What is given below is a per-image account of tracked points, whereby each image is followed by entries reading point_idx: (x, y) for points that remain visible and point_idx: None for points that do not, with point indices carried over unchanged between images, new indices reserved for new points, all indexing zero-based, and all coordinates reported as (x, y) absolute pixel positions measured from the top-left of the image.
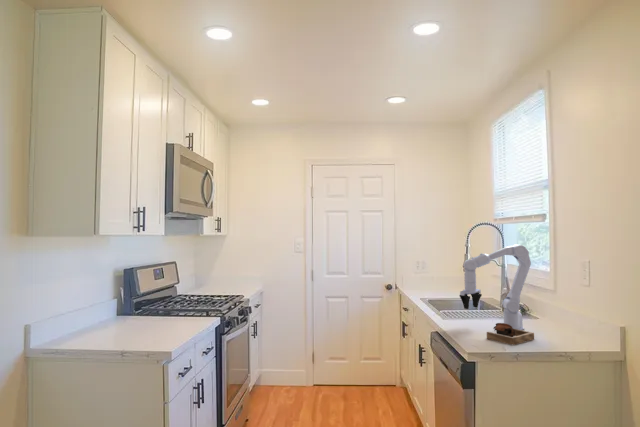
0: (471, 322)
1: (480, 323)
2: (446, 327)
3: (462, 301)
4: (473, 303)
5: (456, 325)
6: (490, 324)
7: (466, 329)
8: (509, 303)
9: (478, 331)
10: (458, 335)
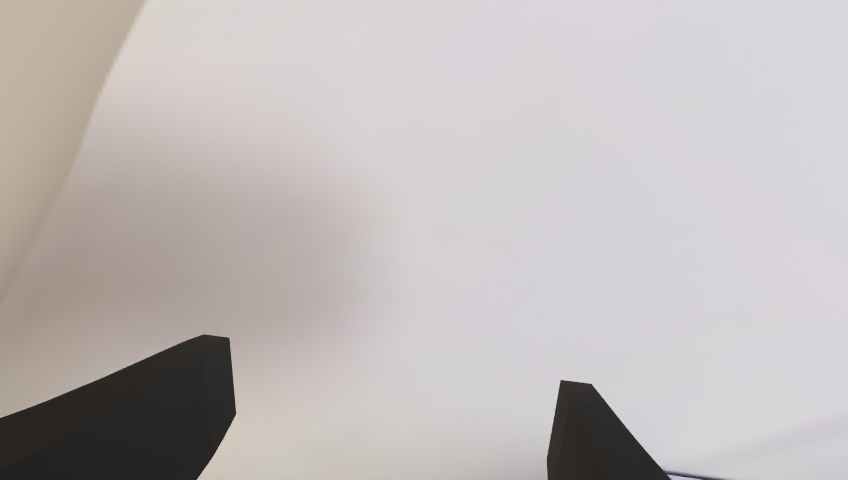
0: (765, 55)
1: (789, 187)
2: (193, 16)
3: (6, 429)
4: (578, 447)
5: (399, 30)
6: (818, 307)
7: (322, 245)
8: None
9: (354, 370)
10: (67, 319)
